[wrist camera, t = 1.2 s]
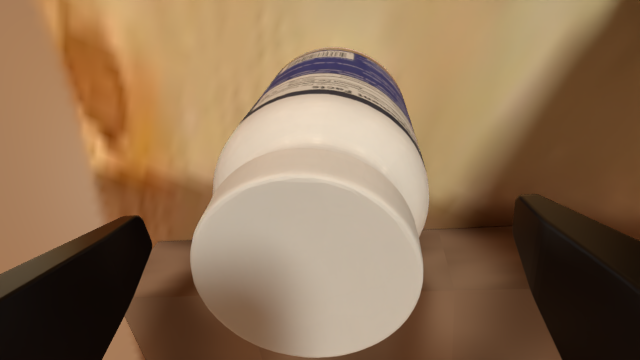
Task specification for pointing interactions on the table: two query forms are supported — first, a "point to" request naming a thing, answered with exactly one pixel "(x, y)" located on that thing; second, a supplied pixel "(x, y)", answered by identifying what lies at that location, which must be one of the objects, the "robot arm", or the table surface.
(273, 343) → the pill bottle
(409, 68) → the table surface
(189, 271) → the well block
